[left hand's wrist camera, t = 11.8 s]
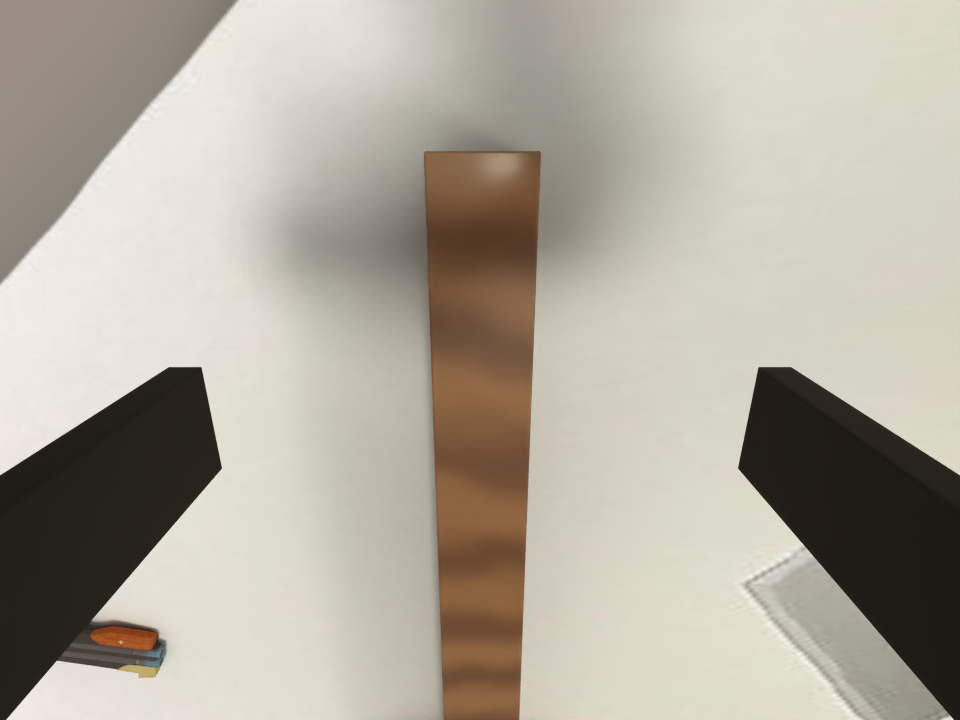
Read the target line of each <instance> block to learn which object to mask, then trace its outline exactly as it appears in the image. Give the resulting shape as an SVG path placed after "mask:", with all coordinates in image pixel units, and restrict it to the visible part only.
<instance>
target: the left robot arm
mask: <svg viewBox="0 0 960 720" xmlns="http://www.w3.org/2000/svg"><path fill="white" fill-rule="evenodd" d="M221 469H222V466H221V462H220V457H219V452H218V447H217V442H216V437H215V432H214V427H213V422H212V417H211V412H210V407H209V402H208V397H207V393H206V388H205V383H204V378H203V373H202V368H201V367H169V368H167V369H165V370H164V371H162V372H161V373H159V374H158V375H156V376H155V377H153V378H151V379H150V380H148V381H147V382H145V383H144V384H142V385H141V386H139V387H137V388H136V389H134V390H133V391H131V392H130V393H128V394H126V395H125V396H123V397H122V398H120V399H119V400H117V401H116V402H114V403H112V404H111V405H109V406H108V407H106V408H105V409H103V410H102V411H100V412H98V413H97V414H95V415H94V416H92V417H91V418H89V419H87V420H86V421H84V422H83V423H81V424H80V425H78V426H77V427H75V428H73V429H72V430H70V431H69V432H67V433H66V434H64V435H62V436H61V437H59V438H58V439H56V440H55V441H53V442H52V443H50V444H48V445H47V446H45V447H44V448H42V449H41V450H39V451H38V452H36V453H34V454H33V455H31V456H30V457H28V458H27V459H25V460H23V461H22V462H20V463H19V464H17V465H16V466H14V467H13V468H11V469H9V470H8V471H6V472H5V473H3V474H2V475H0V720H6V719H7V718H8V717H9V716H10V714H11V713H12V712H13V711H14V710H15V709H16V707H17V706H18V705H19V704H20V703H21V702H22V700H23V699H24V698H25V697H26V696H27V695H28V694H29V692H30V691H31V690H32V689H33V688H34V687H35V685H36V684H37V683H38V682H39V681H40V680H41V678H42V677H43V676H44V675H45V674H46V673H47V671H48V670H49V669H50V668H51V667H52V666H53V664H54V663H55V662H56V661H57V660H58V659H59V657H60V656H61V655H62V654H63V653H64V652H65V650H66V649H67V648H68V647H69V646H70V645H71V643H72V642H73V641H74V640H75V639H76V638H77V636H78V635H79V634H80V633H81V632H82V631H83V629H84V628H85V627H86V626H87V625H88V624H89V622H90V621H91V620H92V619H93V618H94V617H95V616H96V614H97V613H98V612H99V611H100V610H101V609H102V607H103V606H104V605H105V604H106V603H107V602H108V600H109V599H110V598H111V597H112V596H113V595H114V593H115V592H116V591H117V590H118V589H119V588H120V586H121V585H122V584H123V583H124V582H125V581H126V579H127V578H128V577H129V576H130V575H131V574H132V572H133V571H134V570H135V569H136V568H137V567H138V565H139V564H140V563H141V562H142V561H143V560H144V558H145V557H146V556H147V555H148V554H149V553H150V551H151V550H152V549H153V548H154V547H155V546H156V544H157V543H158V542H159V541H160V540H161V539H162V538H163V536H164V535H165V534H166V533H167V532H168V531H169V529H170V528H171V527H172V526H173V525H174V524H175V522H176V521H177V520H178V519H179V518H180V517H181V515H182V514H183V513H184V512H185V511H186V510H187V508H188V507H189V506H190V505H191V504H192V503H193V501H194V500H195V499H196V498H197V497H198V496H199V494H200V493H201V492H202V491H203V490H204V489H205V487H206V486H207V485H208V484H209V483H210V482H211V480H212V479H213V478H214V477H215V476H216V475H217V473H218V472H219V471H220V470H221ZM738 469H739V470H740V471H741V472H742V473H743V475H744V476H745V477H746V478H747V479H748V480H749V482H750V483H751V484H752V485H753V486H754V487H755V489H756V490H757V491H758V492H759V493H760V494H761V496H762V497H763V498H764V499H765V500H766V501H767V503H768V504H769V505H770V506H771V507H772V508H773V510H774V511H775V512H776V513H777V514H778V515H779V517H780V518H781V519H782V520H783V521H784V522H785V524H786V525H787V526H788V527H789V528H790V529H791V531H792V532H793V533H794V534H795V535H796V536H797V538H798V539H799V540H800V541H801V542H802V543H803V544H804V546H805V547H806V548H807V549H808V550H809V551H810V553H811V554H812V555H813V556H814V557H815V558H816V560H817V561H818V562H819V563H820V564H821V565H822V567H823V568H824V569H825V570H826V571H827V572H828V574H829V575H830V576H831V577H832V578H833V579H834V581H835V582H836V583H837V584H838V585H839V586H840V588H841V589H842V590H843V591H844V592H845V593H846V595H847V596H848V597H849V598H850V599H851V600H852V602H853V603H854V604H855V605H856V606H857V607H858V609H859V610H860V611H861V612H862V613H863V614H864V616H865V617H866V618H867V619H868V620H869V621H870V622H871V624H872V625H873V626H874V627H875V628H876V629H877V631H878V632H879V633H880V634H881V635H882V636H883V638H884V639H885V640H886V641H887V642H888V643H889V645H890V646H891V647H892V648H893V649H894V650H895V652H896V653H897V654H898V655H899V656H900V657H901V659H902V660H903V661H904V662H905V663H906V664H907V666H908V667H909V668H910V669H911V670H912V671H913V673H914V674H915V675H916V676H917V677H918V678H919V680H920V681H921V682H922V683H923V684H924V685H925V687H926V688H927V689H928V690H929V691H930V692H931V694H932V695H933V696H934V697H935V698H936V699H937V700H938V702H939V703H940V704H941V705H942V706H943V707H944V709H945V710H946V711H947V712H948V713H949V714H950V716H951V717H952V718H953V719H954V720H960V475H958V474H957V473H955V472H954V471H952V470H951V469H949V468H947V467H946V466H944V465H943V464H941V463H940V462H938V461H937V460H935V459H933V458H932V457H930V456H929V455H927V454H926V453H924V452H922V451H921V450H919V449H918V448H916V447H915V446H913V445H912V444H910V443H908V442H907V441H905V440H904V439H902V438H901V437H899V436H897V435H896V434H894V433H893V432H891V431H890V430H888V429H887V428H885V427H883V426H882V425H880V424H879V423H877V422H876V421H874V420H873V419H871V418H869V417H868V416H866V415H865V414H863V413H862V412H860V411H858V410H857V409H855V408H854V407H852V406H851V405H849V404H848V403H846V402H844V401H843V400H841V399H840V398H838V397H837V396H835V395H834V394H832V393H830V392H829V391H827V390H826V389H824V388H823V387H821V386H819V385H818V384H816V383H815V382H813V381H812V380H810V379H809V378H807V377H805V376H804V375H802V374H801V373H799V372H798V371H796V370H795V369H793V368H791V367H759V368H758V373H757V378H756V383H755V388H754V392H753V397H752V402H751V407H750V412H749V417H748V422H747V427H746V432H745V437H744V442H743V447H742V452H741V457H740V462H739V466H738Z"/></svg>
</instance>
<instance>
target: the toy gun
mask: <svg viewBox="0 0 960 720" xmlns="http://www.w3.org/2000/svg"><path fill="white" fill-rule="evenodd" d="M156 639H157V635H156V633H155V632H149V631H143V630H137V629H131V628H124V627H118V626H110V627H105V628H99V629H95V630H87V629H83V631H82V632H81V633H80V634H79V635H78V636H77V638H76V639H75V640H74V641H73V642H72V643H71V645H70V646H69V647H68V648H67V649H66V650H65V652H64V653H63V654H62V655H61V656H60V657H59V659H58V660H57V661H64V662H71V663H78V664H85V665H92V666H99V667H106V668H113V669H117V670H121V671H129V672H135V673H139V678H154V677H155V676H156V675H157V673H158V671H159V670H160V666H161V664H162V662H163V660H164V655H162V654H163V651H164V646H160V645H161V644H157V643H156Z"/></svg>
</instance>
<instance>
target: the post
mask: <svg viewBox="0 0 960 720" xmlns="http://www.w3.org/2000/svg"><path fill="white" fill-rule="evenodd" d="M540 163H541V152H539V151H426V152H424V166H425V194H426V223H427V251H428V279H429V308H430V336H431V364H432V393H433V421H434V449H435V477H436V506H437V534H438V562H439V591H440V619H441V647H442V676H443V704H444V720H519V708H520V682H521V656H522V630H523V604H524V578H525V552H526V526H527V500H528V475H529V449H530V423H531V397H532V371H533V345H534V319H535V293H536V267H537V241H538V215H539V189H540Z"/></svg>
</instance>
